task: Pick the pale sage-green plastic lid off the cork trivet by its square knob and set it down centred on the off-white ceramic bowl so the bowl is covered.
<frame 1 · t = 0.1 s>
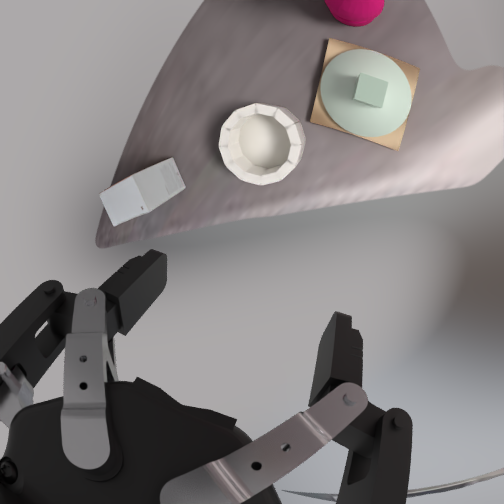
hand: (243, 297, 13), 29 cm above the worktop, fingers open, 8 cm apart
trivet: (365, 92, 30), on the worktop
bowl: (267, 139, 37), on the worktop
small box: (162, 179, 45), on the worktop
pepper mill: (352, 7, 24), on the worktop
lid: (366, 92, 29), point 1 cm above the worktop, touching trivet
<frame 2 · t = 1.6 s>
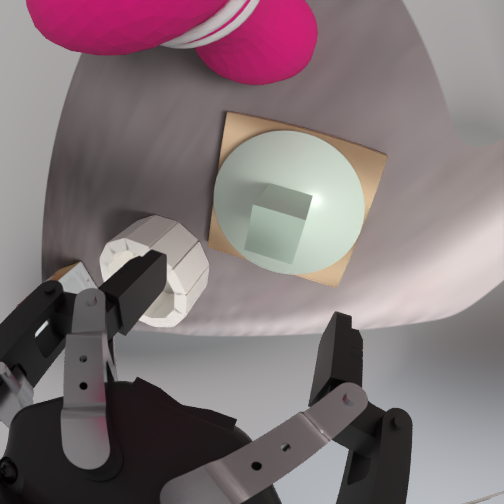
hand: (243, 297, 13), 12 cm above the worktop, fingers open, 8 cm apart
trivet: (290, 200, 23), on the worktop
bowl: (165, 259, 30), on the worktop
small box: (79, 279, 37), on the worktop
pepper mill: (272, 44, 17), on the worktop
lid: (288, 205, 22), point 1 cm above the worktop, touching trivet
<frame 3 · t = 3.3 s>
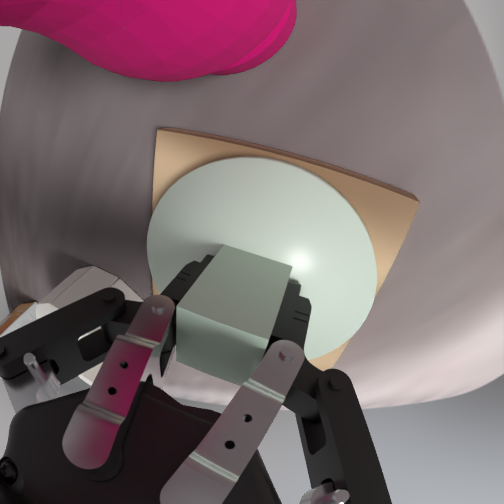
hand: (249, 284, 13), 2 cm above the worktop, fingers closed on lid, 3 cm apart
trivet: (260, 263, 15), on the worktop
bowl: (113, 317, 22), on the worktop
small box: (39, 317, 30), on the worktop
pepper mill: (228, 15, 9), on the worktop
lid: (255, 274, 14), point 1 cm above the worktop, touching gripper, trivet
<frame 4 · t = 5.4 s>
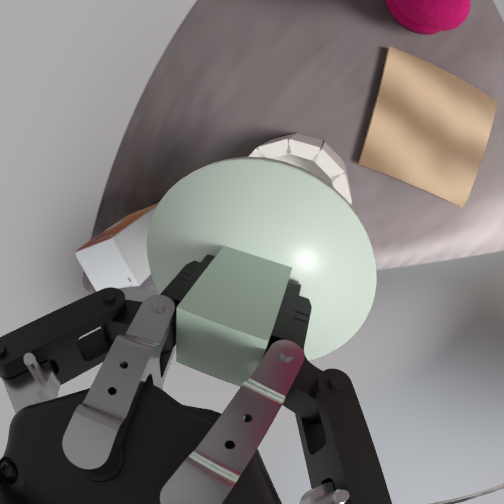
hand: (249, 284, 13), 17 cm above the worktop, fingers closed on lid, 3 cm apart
trivet: (431, 127, 21), on the worktop
bowl: (298, 184, 28), on the worktop
small box: (156, 225, 36), on the worktop
pepper mill: (415, 7, 15), on the worktop
lid: (255, 275, 14), point 16 cm above the worktop, touching gripper
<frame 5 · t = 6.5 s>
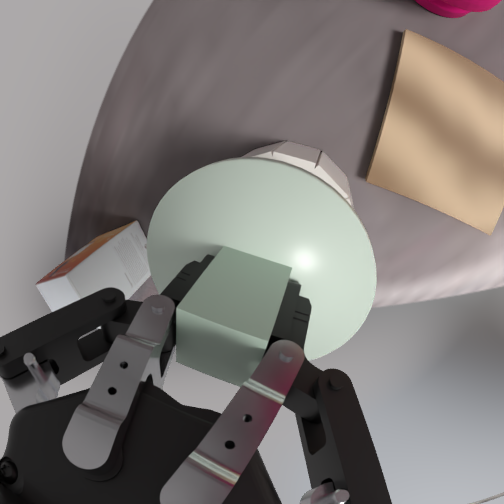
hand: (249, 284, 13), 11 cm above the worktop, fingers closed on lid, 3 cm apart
trivet: (458, 135, 15), on the worktop
bowl: (288, 205, 22), on the worktop
small box: (127, 248, 30), on the worktop
lid: (255, 275, 14), point 10 cm above the worktop, touching gripper
when the fingers open (7 cm above the worktop, at t = 7.5 s): lid drops 1 cm, resting on bowl.
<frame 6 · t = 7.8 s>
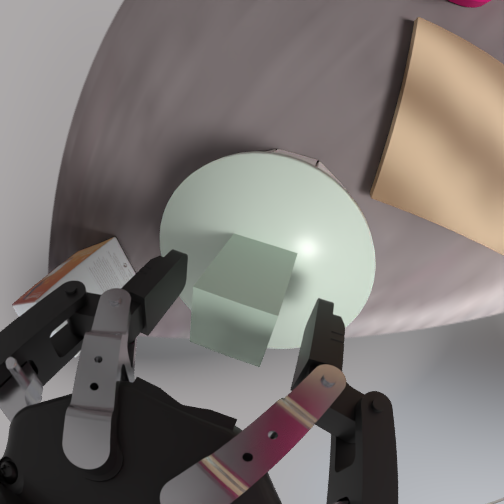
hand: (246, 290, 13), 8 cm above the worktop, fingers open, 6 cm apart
trivet: (477, 143, 13), on the worktop
bowl: (279, 224, 19), on the worktop
small box: (108, 265, 27), on the worktop
lid: (262, 261, 15), point 5 cm above the worktop, touching bowl
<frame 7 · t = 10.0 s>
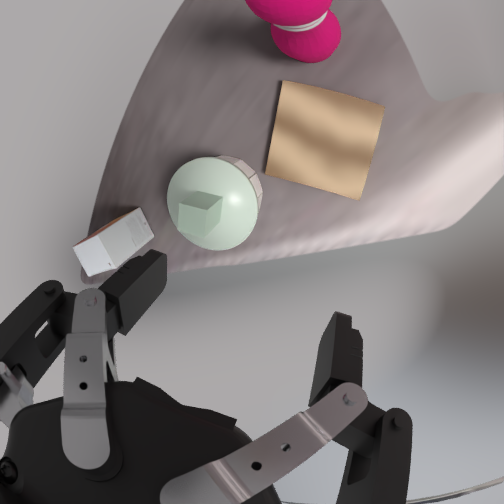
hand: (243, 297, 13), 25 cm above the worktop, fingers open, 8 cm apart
trivet: (324, 138, 31), on the worktop
bowl: (225, 192, 38), on the worktop
small box: (133, 227, 46), on the worktop
pepper mill: (309, 40, 26), on the worktop
lid: (211, 204, 34), point 5 cm above the worktop, touching bowl
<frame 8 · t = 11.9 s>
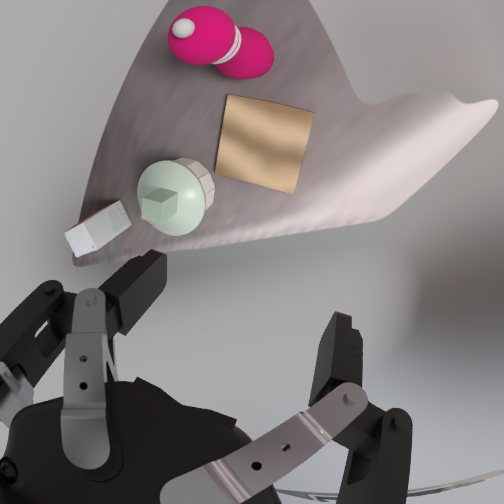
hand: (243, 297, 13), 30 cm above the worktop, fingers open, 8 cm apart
trivet: (263, 142, 38), on the worktop
bowl: (186, 188, 45), on the worktop
small box: (115, 216, 53), on the worktop
pepper mill: (252, 58, 33), on the worktop
lid: (170, 198, 41), point 5 cm above the worktop, touching bowl
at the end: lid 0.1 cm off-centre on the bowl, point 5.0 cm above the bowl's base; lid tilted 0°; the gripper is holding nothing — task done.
